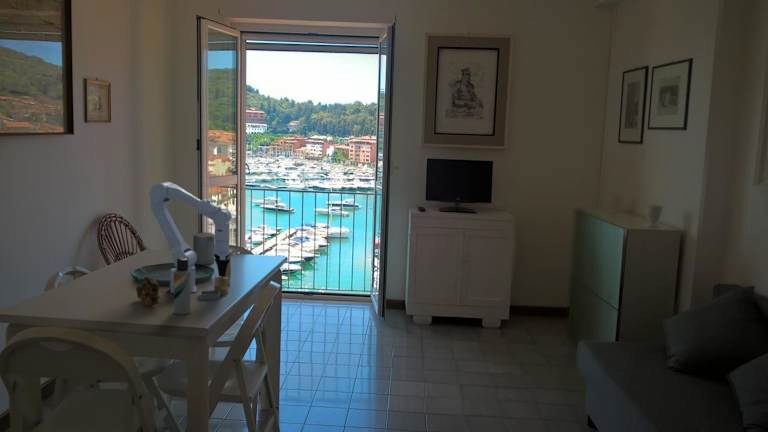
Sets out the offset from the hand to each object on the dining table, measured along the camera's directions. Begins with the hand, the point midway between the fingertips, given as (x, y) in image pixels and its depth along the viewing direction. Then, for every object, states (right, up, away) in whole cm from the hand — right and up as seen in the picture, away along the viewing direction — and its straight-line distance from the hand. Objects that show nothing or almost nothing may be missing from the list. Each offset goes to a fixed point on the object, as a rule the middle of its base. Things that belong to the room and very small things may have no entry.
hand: (221, 273), depth 242 cm
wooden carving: (-22, -10, -19) cm, 31 cm away
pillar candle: (-21, +1, +48) cm, 53 cm away
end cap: (-3, -9, -6) cm, 11 cm away
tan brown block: (-1, -8, +1) cm, 8 cm away
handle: (-2, -6, +13) cm, 15 cm away
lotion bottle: (-7, -12, -26) cm, 29 cm away
